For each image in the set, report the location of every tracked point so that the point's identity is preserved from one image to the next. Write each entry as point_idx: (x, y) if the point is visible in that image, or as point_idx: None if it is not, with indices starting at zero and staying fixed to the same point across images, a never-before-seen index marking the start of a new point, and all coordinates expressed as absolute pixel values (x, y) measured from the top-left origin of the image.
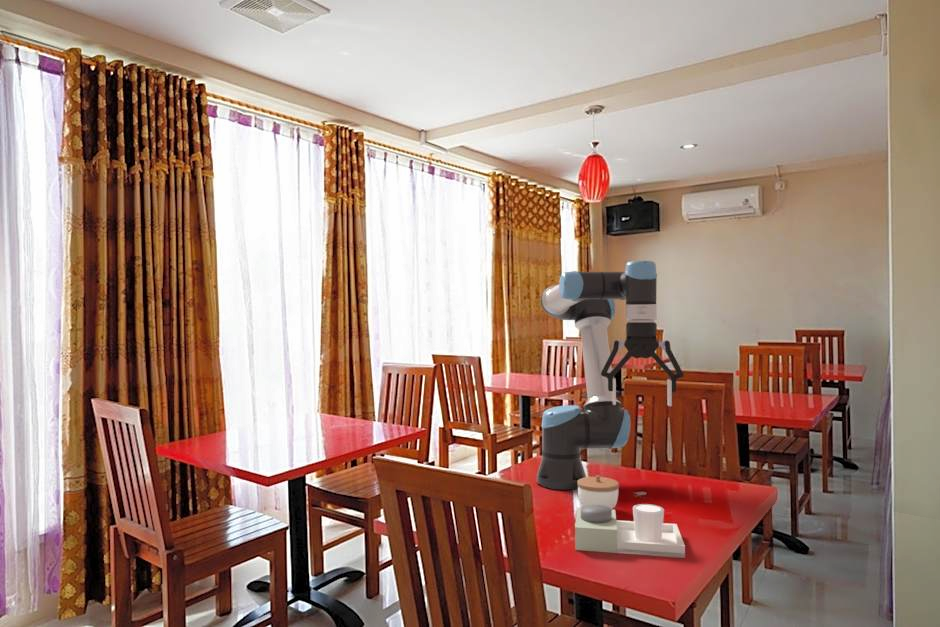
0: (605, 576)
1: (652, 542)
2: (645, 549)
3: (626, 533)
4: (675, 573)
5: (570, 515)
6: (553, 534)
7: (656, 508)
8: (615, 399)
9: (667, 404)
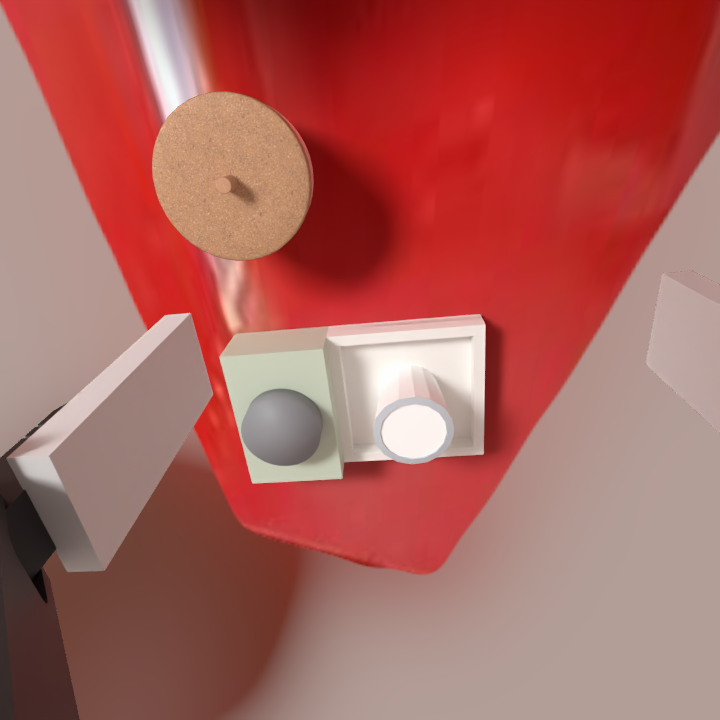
0: (335, 533)
1: None
2: None
3: (358, 369)
4: (451, 501)
5: None
6: None
7: (434, 426)
8: (194, 420)
9: (661, 282)
